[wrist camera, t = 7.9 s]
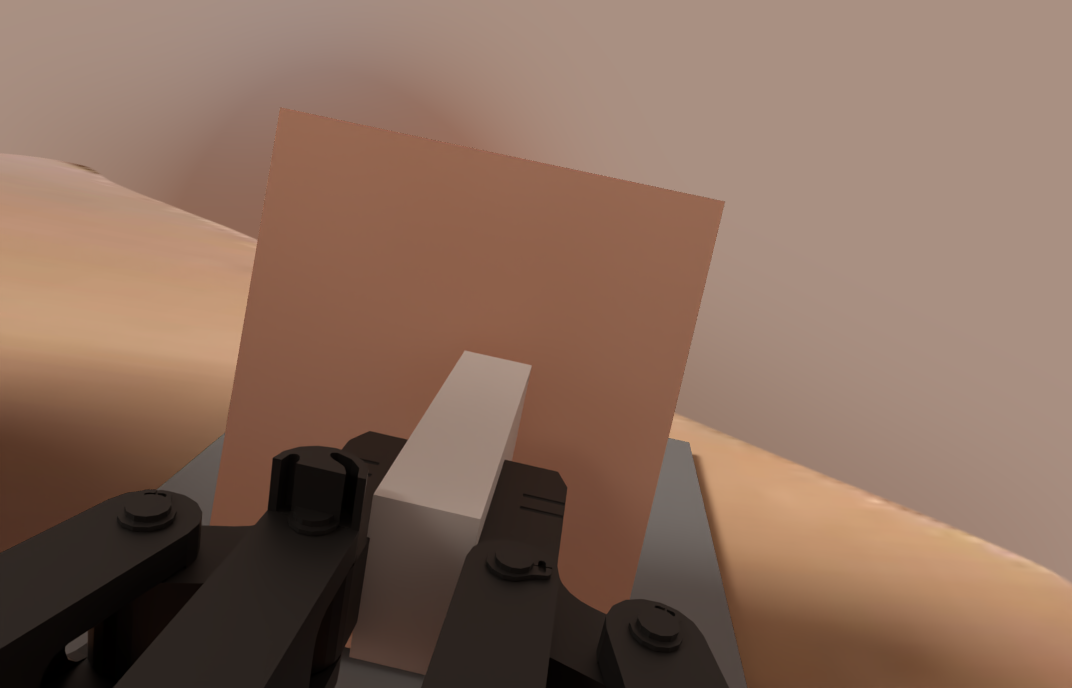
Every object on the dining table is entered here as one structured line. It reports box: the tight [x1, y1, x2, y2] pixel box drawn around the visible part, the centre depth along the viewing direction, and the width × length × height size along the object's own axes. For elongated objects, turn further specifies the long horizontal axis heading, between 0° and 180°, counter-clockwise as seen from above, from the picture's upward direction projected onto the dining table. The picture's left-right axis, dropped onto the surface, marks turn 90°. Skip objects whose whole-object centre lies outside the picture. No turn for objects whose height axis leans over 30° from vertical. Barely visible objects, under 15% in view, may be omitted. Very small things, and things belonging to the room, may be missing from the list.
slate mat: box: [65, 433, 747, 688], centre depth 24 cm, size 18×24×1 cm
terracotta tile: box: [210, 108, 725, 648], centre depth 19 cm, size 10×2×12 cm, turn 85°
